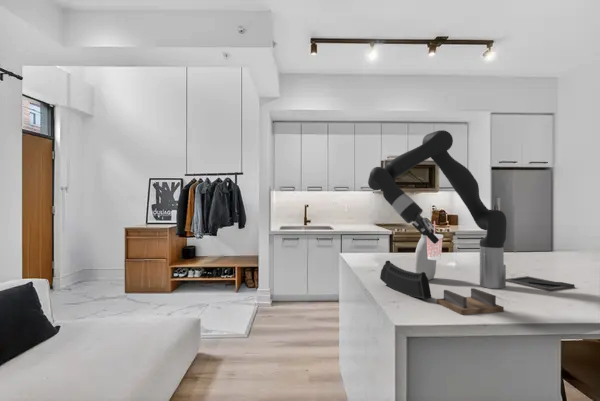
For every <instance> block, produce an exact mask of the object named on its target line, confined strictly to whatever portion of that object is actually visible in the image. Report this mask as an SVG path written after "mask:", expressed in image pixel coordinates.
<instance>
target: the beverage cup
mask: <svg viewBox="0 0 600 401" xmlns="http://www.w3.org/2000/svg"><path fill="white" fill-rule="evenodd" d="M433 225H434V235H435V236H436V237H437V238H438V239H439V241H438V242H437V243H436V244H434V243H433V242H432V241H431V240H430V239H429V238H428V237H427V254H428V259H430V260H436V261H441V260H442V251H443V250H442V248H443V239H444V234H440V233H439V234H435V227H436V220H434V221H433ZM442 238H443V239H442Z"/></svg>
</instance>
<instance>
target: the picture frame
mask: <svg viewBox="0 0 600 401" xmlns="http://www.w3.org/2000/svg"><path fill="white" fill-rule="evenodd" d="M506 283H511V284H515V285H519V286H524V287H527V288H528V287H529V288H533V289H537V290H542V291H546V292H556V291H562V290H569V289H575V286H576V285H575V284H574V283H573V284H572V283H567V282H562V281H552V280H548V279H543V278H538V277H532V276H529V275H528V276H519V277H512V278H511V277H510V278H506Z"/></svg>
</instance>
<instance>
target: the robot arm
mask: <svg viewBox="0 0 600 401" xmlns="http://www.w3.org/2000/svg"><path fill="white" fill-rule="evenodd" d="M453 142H454V140H453V135H452V134H451V133H450V132H449V131H447V130H444V129H443V130H435V131H434V132H429V133H428V134H426V135H424V137H423V138H422V144H421V145H419V146H417V147H415V148H413V149H411V150H408V151H406V152H404V153H402V154H400V155H397V157H395V158H393V159H392V160H391V159H390V161H389V162H387V163H386V165H385V166H384V167H382V166H376V167H373V168H372V169H371V170H370V173H369V176H368V181H367V183H368V186H369V188H370V189H371V190H373V191H380V190H381V191H382V195H383V198H384V200H385V201H386V202H387V203H388V204H389V205H390V206H391V207H392V208H393V209H394V211H395V212H396V214H398V215H399V216H400V218H402V219H403V221H404V222H406V223H407V224H411V225H412V226H413V227H414V228H415V229H416V230H417V231H418V232H419V233H420V234H421V236H422V235H425V236H426V237H428V238H429V239H430V240H431V241H432V242H433V243H434V244H436V243H437V242H438V241H439V239H438V238H437V237H436V236H435V235H434V226H433V225H434V224H432V222H431V221H429V219H428V218H427V217H423V216H422V215H421V214H422V213H423V211H424V210H423V208H421V207H420V206H419V205H418V204H417V203H416V202H415V201H414V200H413V199H412V198H411V197H410V196H409V195H408V194H407V193H405V191H403V189H401V188H400V186H398V184H397V183H396V181H395V179H397V178H398V177H400V176H402V175H403V174H405V173H407V172H408V171H410V170H411V169H414V167H416V166H418V165H419V164H421V163H423V162H424V161H426V160H428V159H431V160H432V161H433V162H434V163H435V164H436V165H437V167H438V168H439V169H440V171H441V172H442V174H443V176H445V178H446V179H447V181H448V182H449V184H450V185H451V187H452V188H453V189H454V191H455V192H456V195H458V197H459V198H460V199H461V201H462V202H463V204H464V205H465V206H466V208H467V209H468V212H469V213H470V215H471V217H472V219H473V221H474V222H475V224H476V225H477V227H478V228H479V229H481V230H483V231H486V235H485V237H484V238H481V239H479V286H480V287H484V288H488V289H503V288H506V286H507V285H506V284H507V282H506V279H507V275H506V274H507V269H506V268H507V267H506V264H504V263H505V262H504V260H505V259H504V256H505V254H504V250H505V249H504V245H505V242H506V238H507V224H508V223H507V217H506V214H505V212H503V211H502V210H500V209H489V208H488V207H487V206H486V205H485V204H484V203H483V200H481V197H480V196H481V195H480V188H479V183H478V181H477V180H476V178H475V177H474V175H473V174H472V172H471V171H470V169H468V167H466V166H464V165H463V164H462V163H460V162H459V161H457V159H454V158H453V156H451V154H449V152H448V151H449V150H450V149H451V148H452V147H453V144H454V143H453ZM435 234H440V233H439V232H438V231H437V227H436V226H435ZM442 240H444V237H443V238H442Z"/></svg>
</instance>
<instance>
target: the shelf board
mask: <svg viewBox="0 0 600 401" xmlns="http://www.w3.org/2000/svg"><path fill="white" fill-rule="evenodd" d="M496 296H497V295H494V294H492V293H489V292H486V291H483V290H480V289H478V288H474V287H471V288H470V296H463V295H462V294H458V293H456V292H454V291H451V290H448V289H443V298H437V299H436V303H437V304H438V305H441V306H442V305H443V306H442V307H444V306H445V308H446V307H447V308H446V309H448V308H449V310H451V311H453V312H455V313H456V314H459V315H460V316H461V315H464V316H465V315H476V314H477V315H478V314H489V313H500V312H504V306H502V305H499V304H497V303H496V301H497V300H496V298H497V297H496Z"/></svg>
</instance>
